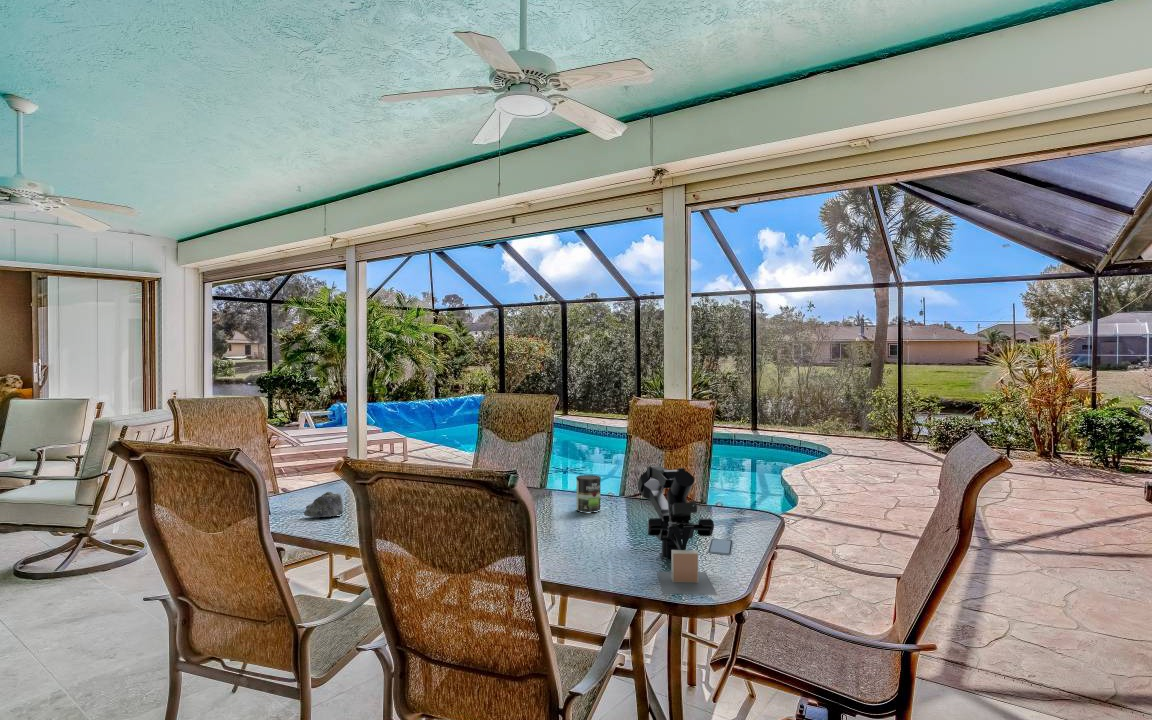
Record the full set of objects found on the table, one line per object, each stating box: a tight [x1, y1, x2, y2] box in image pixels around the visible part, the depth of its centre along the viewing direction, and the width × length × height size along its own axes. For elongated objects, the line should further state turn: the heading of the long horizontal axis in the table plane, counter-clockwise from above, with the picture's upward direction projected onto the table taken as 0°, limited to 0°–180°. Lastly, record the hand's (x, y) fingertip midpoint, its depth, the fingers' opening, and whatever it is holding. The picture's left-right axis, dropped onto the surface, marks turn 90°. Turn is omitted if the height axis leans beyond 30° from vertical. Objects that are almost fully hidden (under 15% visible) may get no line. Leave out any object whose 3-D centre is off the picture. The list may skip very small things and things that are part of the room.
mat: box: [656, 570, 718, 596], centre depth 158 cm, size 16×14×1 cm
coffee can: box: [575, 474, 602, 512], centre depth 242 cm, size 10×10×14 cm
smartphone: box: [707, 538, 734, 556], centre depth 192 cm, size 7×1×15 cm
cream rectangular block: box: [670, 549, 699, 583], centre depth 159 cm, size 3×7×8 cm, turn 88°
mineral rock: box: [303, 491, 344, 518], centre depth 231 cm, size 13×11×10 cm
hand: (683, 554), depth 162 cm, fingers closed
